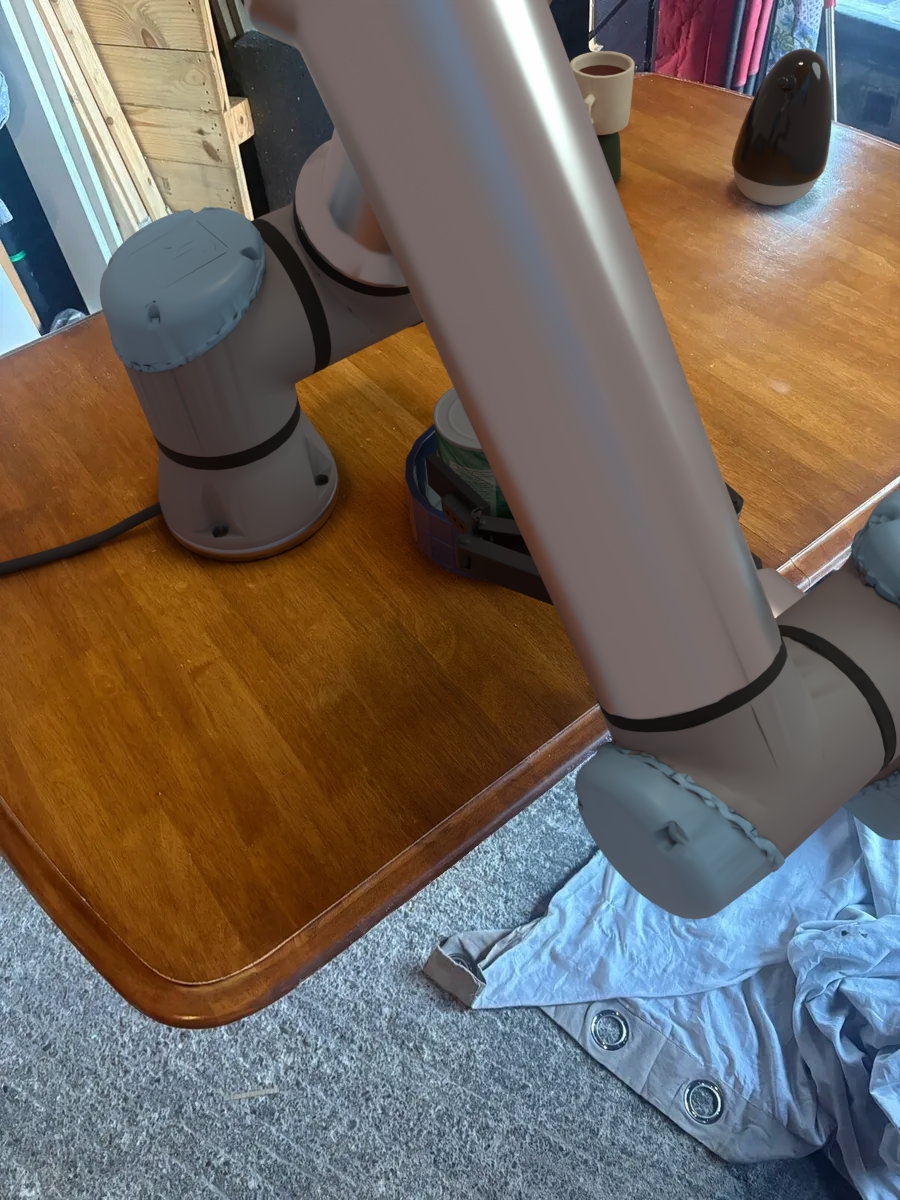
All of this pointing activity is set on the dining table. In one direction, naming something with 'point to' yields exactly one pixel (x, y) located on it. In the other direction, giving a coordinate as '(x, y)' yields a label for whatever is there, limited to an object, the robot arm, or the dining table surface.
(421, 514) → the pot
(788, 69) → the dark brown egg shape
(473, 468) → the canned tomato
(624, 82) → the character mug
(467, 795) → the dining table surface
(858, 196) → the dining table surface
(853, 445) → the dining table surface
